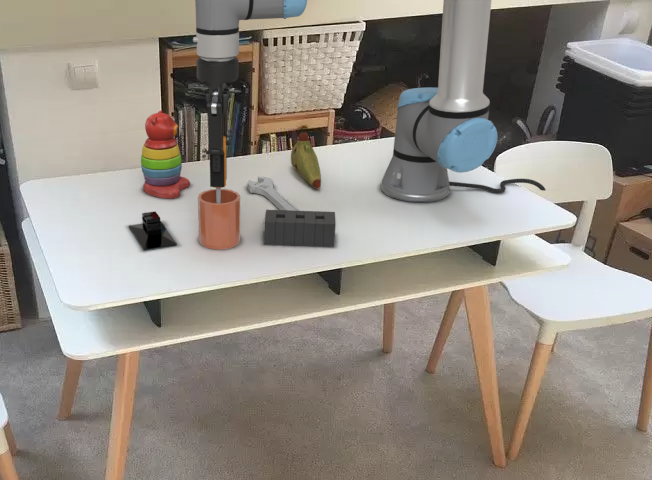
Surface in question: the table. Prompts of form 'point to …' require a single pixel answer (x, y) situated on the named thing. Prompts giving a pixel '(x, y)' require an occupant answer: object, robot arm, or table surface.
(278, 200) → the adjustable wrench
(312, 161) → the olive green tapered piece
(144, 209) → the table surface
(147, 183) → the stacking bear
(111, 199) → the table surface
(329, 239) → the holder
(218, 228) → the pen cup
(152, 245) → the build plate
